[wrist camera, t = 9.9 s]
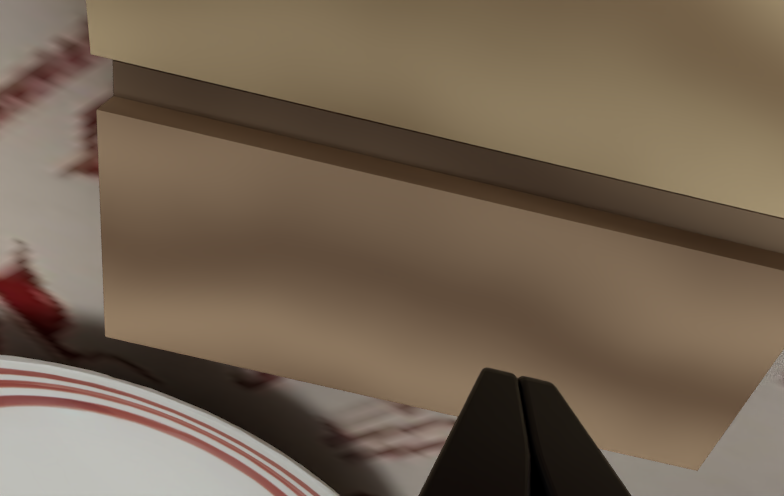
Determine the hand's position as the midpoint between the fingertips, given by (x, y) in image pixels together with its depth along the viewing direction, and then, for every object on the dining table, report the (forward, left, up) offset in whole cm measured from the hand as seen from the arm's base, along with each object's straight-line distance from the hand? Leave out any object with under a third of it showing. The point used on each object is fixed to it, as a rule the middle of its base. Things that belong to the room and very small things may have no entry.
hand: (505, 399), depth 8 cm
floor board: (-7, 0, -12) cm, 13 cm away
